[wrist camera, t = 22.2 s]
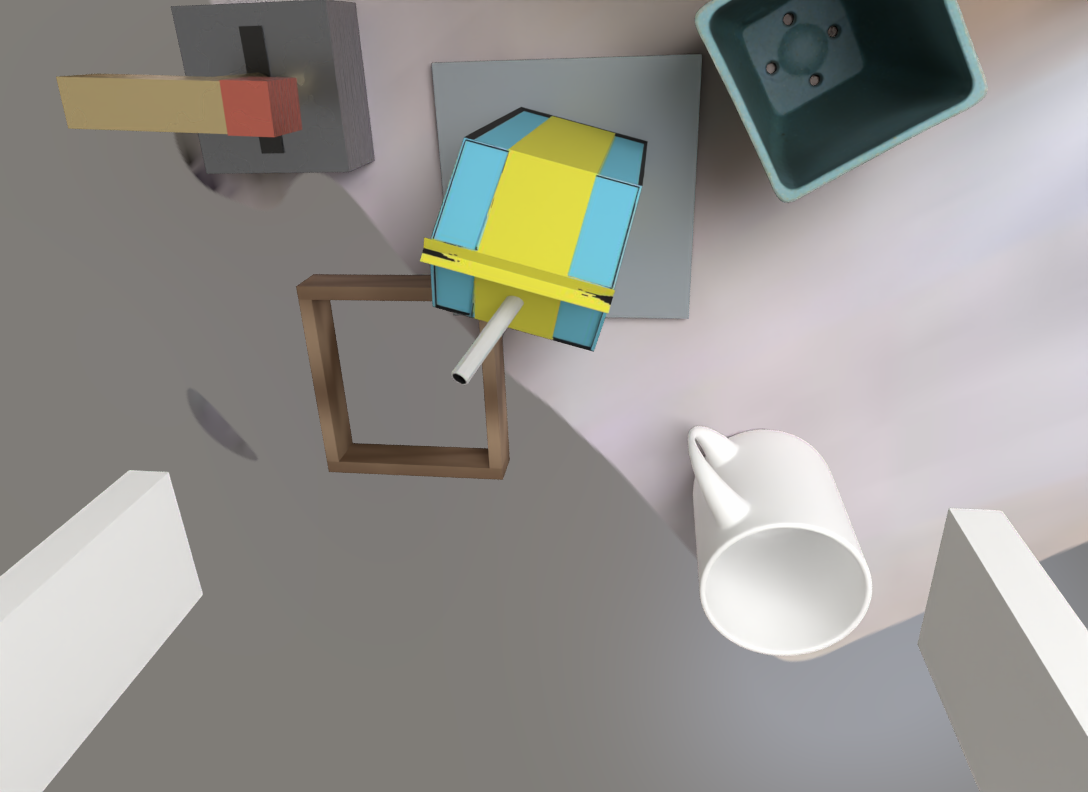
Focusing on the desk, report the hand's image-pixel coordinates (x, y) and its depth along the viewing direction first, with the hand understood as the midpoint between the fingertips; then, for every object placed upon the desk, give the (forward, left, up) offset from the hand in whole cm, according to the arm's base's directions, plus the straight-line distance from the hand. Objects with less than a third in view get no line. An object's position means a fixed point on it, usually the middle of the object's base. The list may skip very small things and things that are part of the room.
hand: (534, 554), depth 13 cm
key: (-6, -18, -28) cm, 34 cm away
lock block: (-6, -18, -33) cm, 38 cm away
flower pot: (-7, +9, -33) cm, 35 cm away
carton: (0, -3, -32) cm, 32 cm away
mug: (+17, +8, -33) cm, 38 cm away
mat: (0, -3, -33) cm, 33 cm away
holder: (+11, -13, -33) cm, 37 cm away
